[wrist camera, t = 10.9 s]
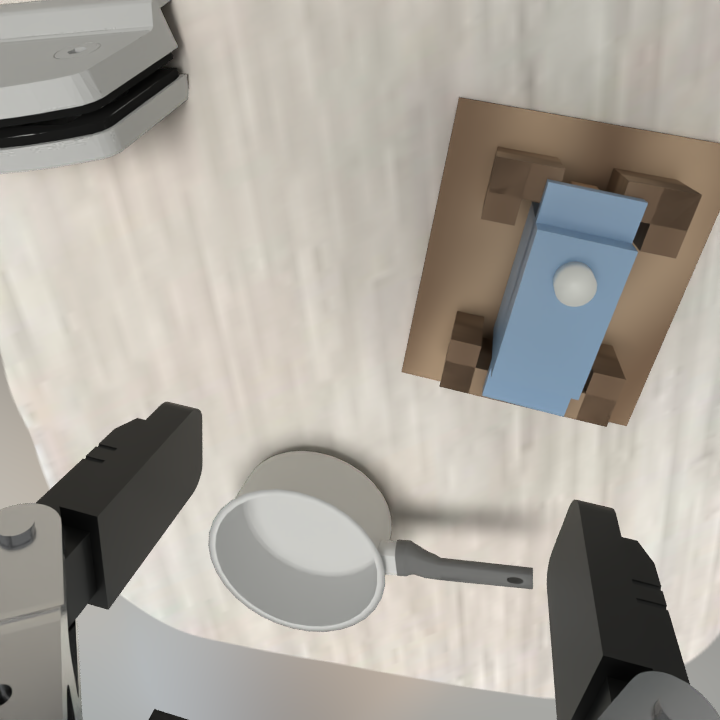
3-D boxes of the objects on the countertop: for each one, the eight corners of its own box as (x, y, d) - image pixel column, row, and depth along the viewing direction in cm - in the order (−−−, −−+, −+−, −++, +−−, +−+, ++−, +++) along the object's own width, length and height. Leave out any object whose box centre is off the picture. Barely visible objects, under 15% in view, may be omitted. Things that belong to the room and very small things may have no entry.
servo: (485, 355, 33) (480, 419, 27) (542, 166, 28) (552, 191, 22) (556, 373, 33) (568, 442, 27) (627, 184, 28) (661, 214, 22)
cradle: (402, 368, 35) (389, 405, 31) (459, 97, 28) (452, 100, 24) (624, 421, 34) (640, 467, 30) (742, 147, 27) (783, 159, 23)
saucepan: (530, 584, 40) (533, 654, 35) (259, 564, 45) (229, 623, 40) (529, 441, 36) (532, 499, 31) (227, 436, 41) (189, 486, 36)
